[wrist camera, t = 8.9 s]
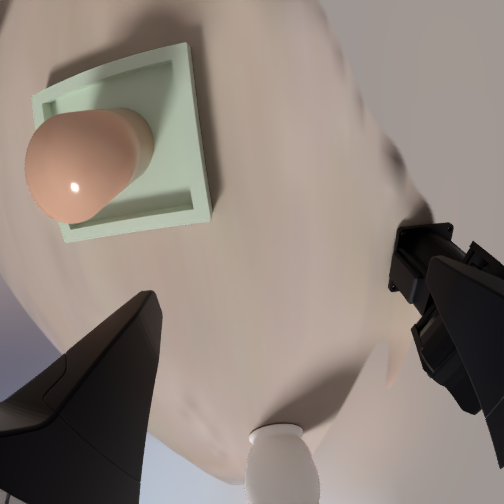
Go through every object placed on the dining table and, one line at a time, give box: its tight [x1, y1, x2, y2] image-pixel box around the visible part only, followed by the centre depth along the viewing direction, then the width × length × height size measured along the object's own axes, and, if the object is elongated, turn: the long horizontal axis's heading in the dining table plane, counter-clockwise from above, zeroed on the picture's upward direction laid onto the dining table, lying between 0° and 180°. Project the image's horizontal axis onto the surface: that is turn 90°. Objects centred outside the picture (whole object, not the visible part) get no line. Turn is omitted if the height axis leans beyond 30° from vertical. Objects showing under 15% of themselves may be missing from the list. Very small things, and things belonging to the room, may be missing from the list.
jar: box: [245, 424, 320, 504], centre depth 31 cm, size 11×10×15 cm
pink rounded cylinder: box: [25, 108, 154, 224], centre depth 14 cm, size 6×6×7 cm
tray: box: [31, 42, 213, 243], centre depth 17 cm, size 12×12×2 cm
